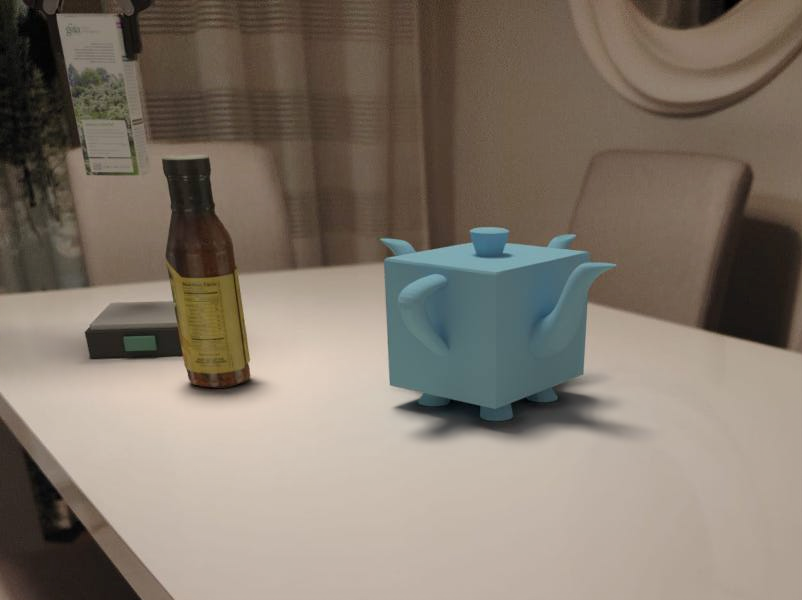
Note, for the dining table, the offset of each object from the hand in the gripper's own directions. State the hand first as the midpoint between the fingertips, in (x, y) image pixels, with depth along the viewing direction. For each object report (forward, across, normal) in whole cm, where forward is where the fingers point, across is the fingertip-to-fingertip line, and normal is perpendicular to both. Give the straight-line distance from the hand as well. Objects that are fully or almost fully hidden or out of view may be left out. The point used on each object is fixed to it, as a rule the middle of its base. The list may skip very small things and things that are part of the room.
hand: (100, 59), depth 96 cm
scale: (+27, -1, +4) cm, 28 cm away
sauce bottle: (+28, -10, +22) cm, 37 cm away
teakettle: (+28, -36, +31) cm, 55 cm away
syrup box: (+11, 0, 0) cm, 11 cm away
